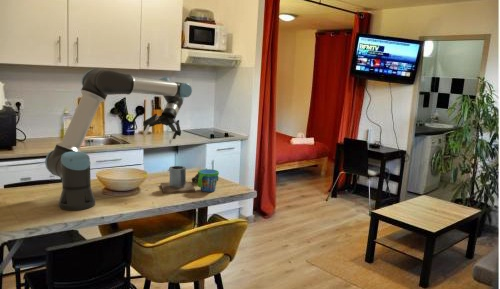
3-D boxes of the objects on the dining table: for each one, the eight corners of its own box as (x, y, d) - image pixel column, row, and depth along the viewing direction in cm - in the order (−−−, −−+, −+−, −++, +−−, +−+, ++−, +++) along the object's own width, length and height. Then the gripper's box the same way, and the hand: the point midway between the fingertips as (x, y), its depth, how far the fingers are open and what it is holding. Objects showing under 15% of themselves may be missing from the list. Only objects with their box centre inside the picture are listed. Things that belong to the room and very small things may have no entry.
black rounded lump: (192, 178, 236) (200, 163, 234) (206, 186, 236) (214, 171, 235) (189, 182, 225) (198, 167, 224) (204, 190, 226) (213, 175, 224)
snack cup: (210, 185, 224) (210, 167, 223) (225, 189, 218) (225, 170, 217) (190, 191, 212) (190, 172, 210) (205, 195, 206) (205, 175, 204)
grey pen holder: (170, 188, 211) (170, 169, 209) (168, 184, 219) (168, 166, 217) (186, 188, 214) (186, 169, 212) (184, 183, 221) (184, 165, 219)
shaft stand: (163, 193, 206) (163, 181, 205) (160, 185, 221) (160, 173, 220) (195, 192, 211) (195, 180, 210) (190, 183, 226) (190, 172, 225)
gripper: (191, 124, 229) (180, 149, 213) (147, 112, 228) (133, 136, 213) (192, 114, 224) (181, 139, 208) (148, 101, 223) (133, 126, 208)
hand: (157, 138), depth 211 cm, fingers open, 13 cm apart
